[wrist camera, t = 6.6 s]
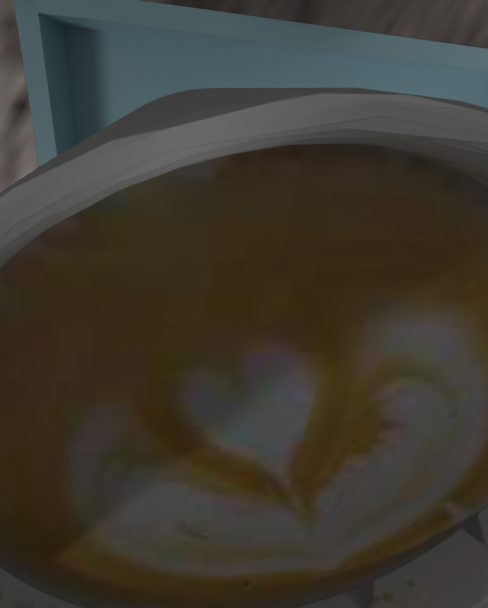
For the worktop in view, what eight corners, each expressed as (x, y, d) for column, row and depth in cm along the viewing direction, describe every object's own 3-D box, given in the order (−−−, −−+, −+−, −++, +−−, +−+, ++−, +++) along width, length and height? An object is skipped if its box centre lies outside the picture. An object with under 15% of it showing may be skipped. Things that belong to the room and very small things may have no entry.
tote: (84, 303, 32) (67, 345, 27) (47, 6, 23) (10, -18, 18) (428, 304, 38) (468, 338, 33) (513, 67, 29) (588, 62, 23)
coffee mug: (98, 24, 10) (-362, -379, 1) (405, 158, 13) (868, 296, 4) (33, 406, 15) (-141, 810, 7) (260, 438, 18) (339, 746, 10)
